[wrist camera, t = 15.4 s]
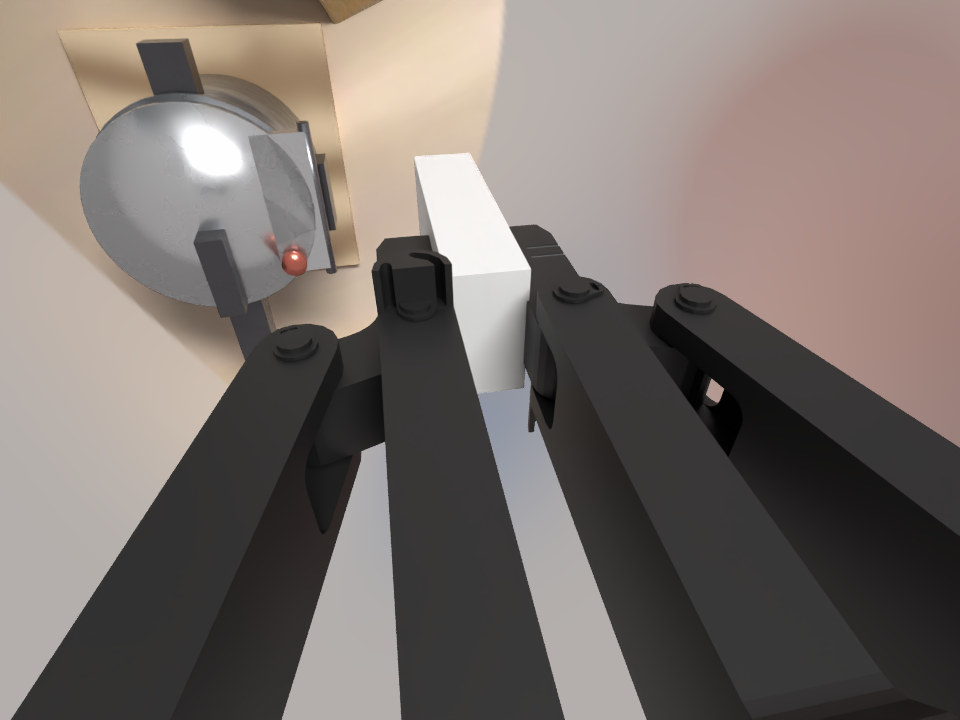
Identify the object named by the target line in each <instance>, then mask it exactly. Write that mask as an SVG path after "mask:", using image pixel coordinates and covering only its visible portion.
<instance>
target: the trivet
mask: <svg viewBox="0 0 960 720" xmlns="http://www.w3.org/2000/svg"><path fill="white" fill-rule="evenodd" d="M57 32H58V34H59V37H60V39H61V41H62V44H63V46H64V48H65V51H66V53H67V55H68V58H69V60H70V62H71V65H72V67H73V69H74V72H75V74H76V77H77V79H78V81H79V84H80V86H81V88H82V91H83V93H84V95H85V98H86V100H87V102H88V105H89V107H90V109H91V112H92V114H93V117H94V119H95V121H96V124H97V126H98V128H99V131H101V129H102V128H103V126H104V125H105V124H106V123H107V122H108V121H109V120H110V119H111V118H112V117H113V116H114V115H115V114H116V113H118V112H119V111H121V110H122V109H124V108H125V107H127V106H128V105H130V104H131V103H134V102H136V101H138V100H140V99H143V98H145V97H149V96H153V95H154V94H153V91H152V89H151V86H150V83H149V80H148V77H147V74H146V72H145V69H144V66H143V63H142V60H141V57H140V54H139V52H138V49H137V46H136V43H138V42H140V41H142V40H147V39H180V38H188V39H189V42H190V46H191V49H192V52H193V56H194V59H195V62H196V66H197V69H198V73H199V74H222V75H228V76H233V77H237V78H240V79H244V80H246V81H249V82H251V83H253V84H256V85H258V86H260V87H261V88H263V89H265V90H267V91H268V92H270V93H271V94H273V95H274V96H276V97H277V98H278V99H280V100H281V101H282V102H283V103H284V104H285V105H286V106H287V107H289V108H290V109H291V110H292V112H293V113H294V114H295V115H296V116H297V117H298V118H299V120H300V121H308V122H309V127H310V132H311V137H312V142H313V144H314V147H315V149H316V153H317V154H323V153H325V154H326V159H327V165H328V170H329V176H330V182H331V187H332V193H333V198H334V204H335V209H336V215H337V224H336V230H333V231H330V236H331V241H332V247H333V252H334V257H335V262H336V266H345V265H356V264H359V256H358V250H357V243H356V237H355V231H354V225H353V219H352V212H351V206H350V200H349V194H348V188H347V181H346V175H345V169H344V163H343V157H342V150H341V144H340V138H339V132H338V126H337V120H336V113H335V107H334V101H333V95H332V89H331V82H330V76H329V70H328V64H327V58H326V51H325V45H324V39H323V33H322V27H321V23H299V24H262V25H225V26H188V27H151V28H114V29H77V30H59V31H57Z"/></svg>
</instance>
